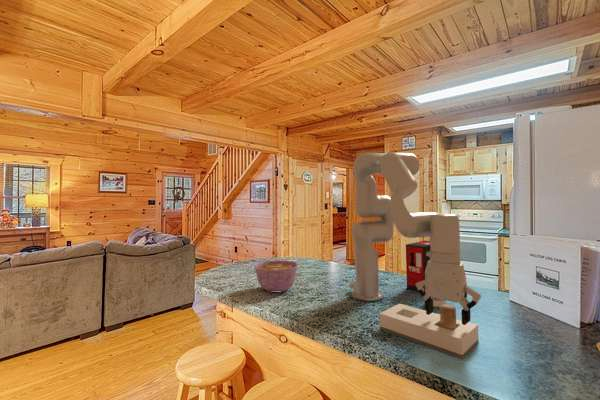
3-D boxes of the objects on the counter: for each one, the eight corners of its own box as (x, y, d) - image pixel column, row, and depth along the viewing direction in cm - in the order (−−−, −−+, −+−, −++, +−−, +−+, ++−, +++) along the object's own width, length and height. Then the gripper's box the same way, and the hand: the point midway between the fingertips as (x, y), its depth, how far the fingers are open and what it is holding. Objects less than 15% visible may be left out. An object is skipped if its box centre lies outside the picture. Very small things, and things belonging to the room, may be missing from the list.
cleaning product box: (425, 293, 124) (424, 246, 124) (406, 289, 131) (405, 244, 131) (445, 285, 134) (443, 242, 134) (426, 281, 141) (425, 240, 141)
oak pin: (437, 338, 83) (437, 307, 83) (444, 334, 85) (443, 303, 85) (452, 344, 80) (452, 311, 80) (458, 339, 82) (458, 307, 82)
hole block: (462, 359, 74) (461, 339, 74) (380, 329, 92) (379, 313, 92) (478, 342, 82) (478, 324, 82) (399, 318, 100) (399, 303, 100)
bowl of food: (246, 290, 136) (246, 265, 136) (280, 281, 149) (280, 258, 149) (272, 300, 121) (271, 272, 121) (307, 289, 134) (307, 264, 134)
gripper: (409, 255, 86) (411, 313, 87) (474, 264, 74) (476, 332, 74) (421, 252, 91) (423, 306, 92) (484, 259, 79) (486, 323, 79)
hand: (446, 318), depth 83 cm, fingers open, 9 cm apart
